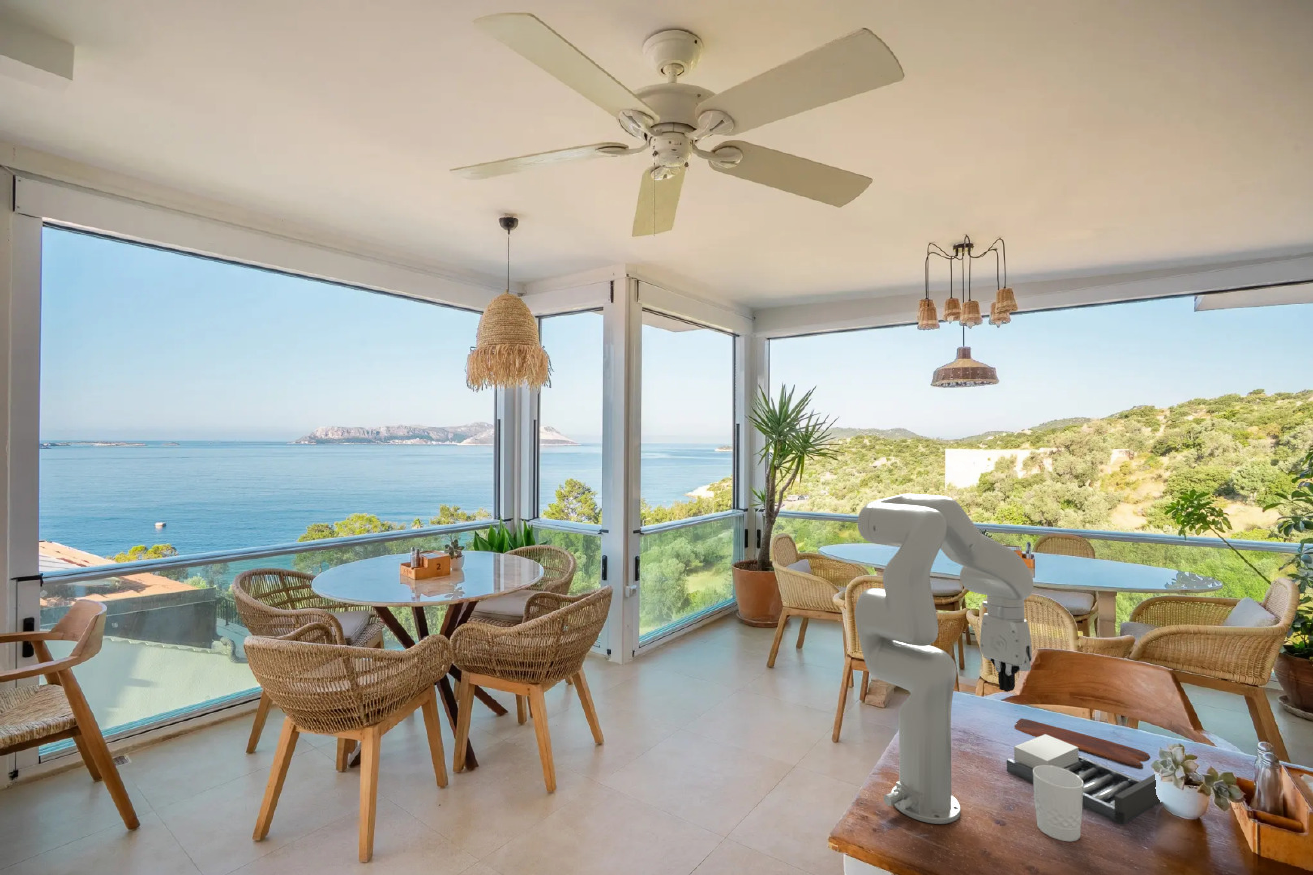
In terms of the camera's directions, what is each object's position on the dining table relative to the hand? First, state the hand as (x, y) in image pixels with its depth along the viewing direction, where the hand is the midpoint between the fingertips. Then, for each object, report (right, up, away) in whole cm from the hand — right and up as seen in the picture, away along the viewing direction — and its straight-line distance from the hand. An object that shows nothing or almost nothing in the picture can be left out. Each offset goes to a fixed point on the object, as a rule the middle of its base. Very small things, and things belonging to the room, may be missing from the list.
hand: (1006, 689), depth 142 cm
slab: (+4, -12, -8) cm, 15 cm away
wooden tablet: (+20, -15, +5) cm, 25 cm away
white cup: (-7, -14, -29) cm, 33 cm away
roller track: (+7, -14, -14) cm, 22 cm away
